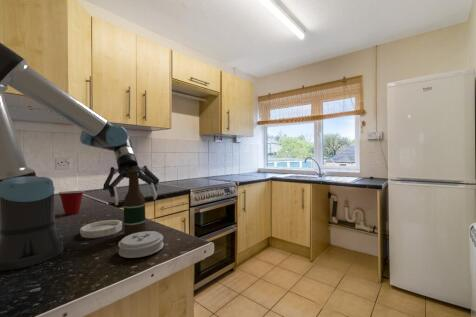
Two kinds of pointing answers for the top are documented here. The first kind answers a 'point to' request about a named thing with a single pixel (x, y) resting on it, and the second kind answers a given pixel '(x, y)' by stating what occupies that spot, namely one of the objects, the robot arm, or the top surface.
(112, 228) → the dish
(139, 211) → the beer bottle
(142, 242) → the lid
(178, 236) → the top surface
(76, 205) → the plastic cup
